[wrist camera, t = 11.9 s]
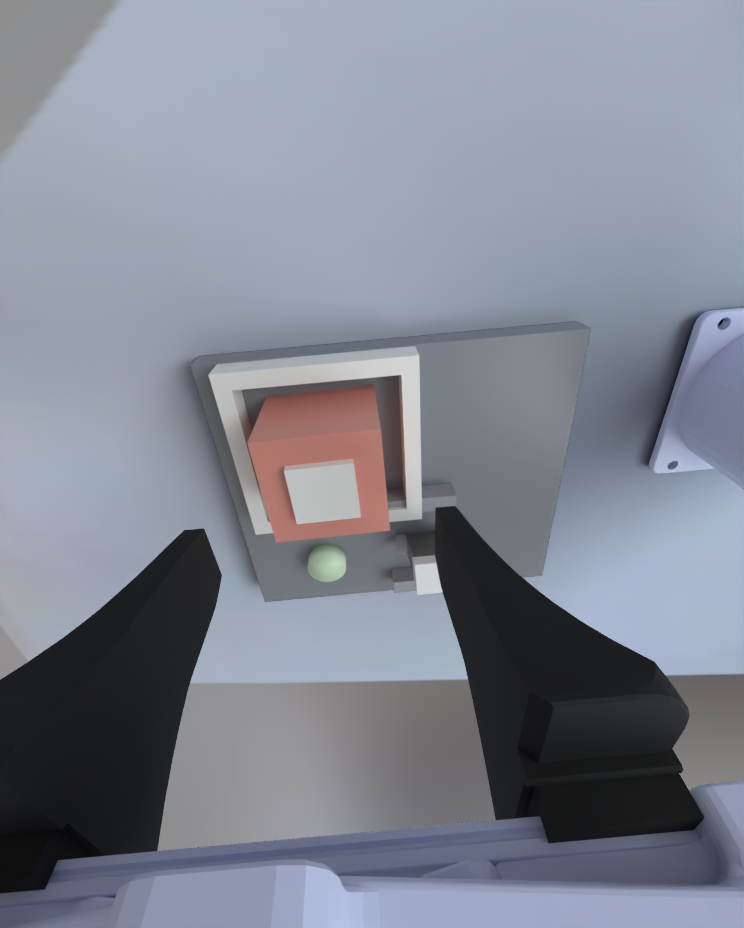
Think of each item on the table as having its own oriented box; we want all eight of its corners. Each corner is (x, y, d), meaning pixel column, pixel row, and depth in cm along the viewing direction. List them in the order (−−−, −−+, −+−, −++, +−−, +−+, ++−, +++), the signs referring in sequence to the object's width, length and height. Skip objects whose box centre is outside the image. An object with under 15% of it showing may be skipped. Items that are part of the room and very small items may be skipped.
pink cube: (373, 384, 17) (381, 432, 14) (382, 474, 20) (390, 535, 16) (266, 396, 17) (245, 447, 14) (287, 484, 20) (274, 548, 16)
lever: (444, 526, 22) (471, 559, 16) (446, 548, 22) (473, 589, 16) (394, 531, 22) (404, 565, 16) (396, 553, 22) (407, 595, 16)
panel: (576, 321, 18) (607, 336, 16) (533, 560, 25) (550, 592, 23) (198, 355, 18) (179, 375, 16) (268, 585, 25) (261, 619, 23)
